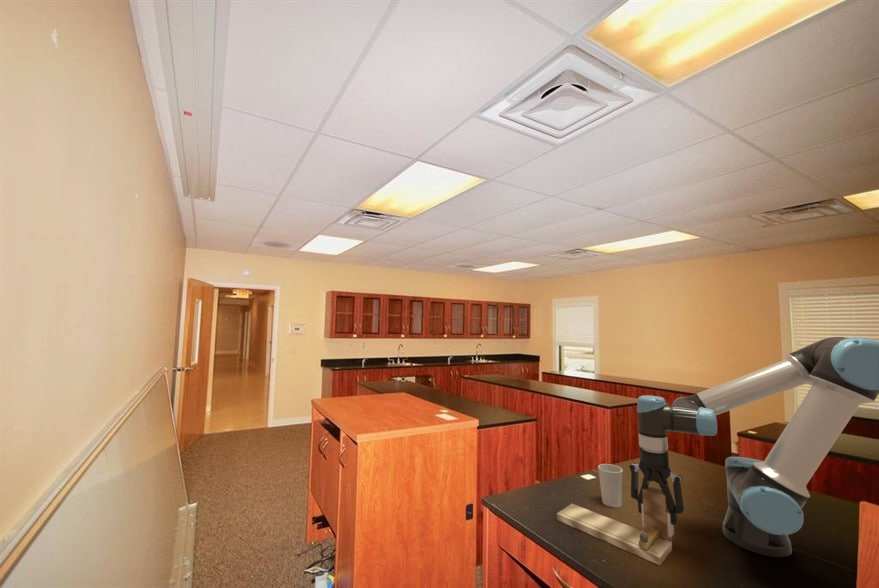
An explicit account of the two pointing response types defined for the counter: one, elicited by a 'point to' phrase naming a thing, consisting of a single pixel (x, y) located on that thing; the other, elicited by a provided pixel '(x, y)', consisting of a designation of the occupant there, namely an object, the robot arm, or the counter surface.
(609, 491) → the cup
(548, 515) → the counter surface
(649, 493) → the gauge
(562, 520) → the board
